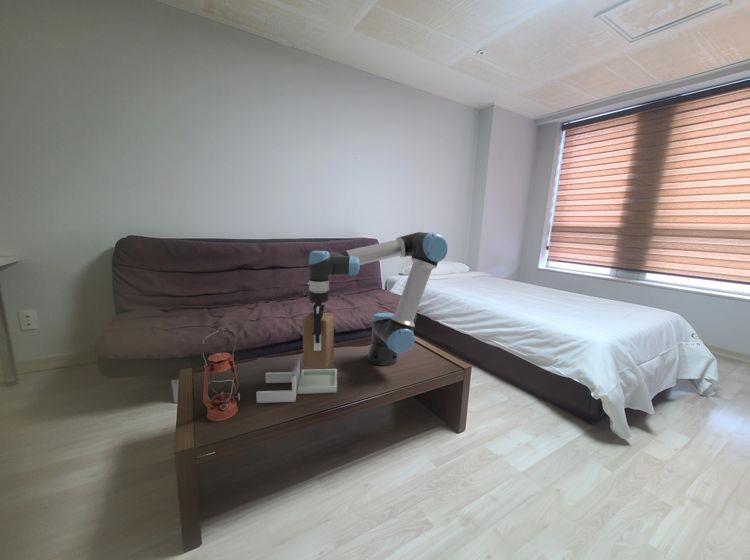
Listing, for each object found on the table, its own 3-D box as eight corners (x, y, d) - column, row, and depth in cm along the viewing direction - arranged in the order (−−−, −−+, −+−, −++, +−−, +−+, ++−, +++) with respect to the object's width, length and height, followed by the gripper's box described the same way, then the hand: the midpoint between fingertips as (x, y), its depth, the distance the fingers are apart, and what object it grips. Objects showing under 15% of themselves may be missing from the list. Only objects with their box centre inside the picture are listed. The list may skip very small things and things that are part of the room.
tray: (336, 374, 133) (337, 368, 132) (336, 392, 118) (336, 387, 117) (302, 374, 131) (301, 369, 130) (297, 394, 116) (297, 388, 116)
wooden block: (326, 370, 117) (326, 320, 113) (302, 367, 119) (301, 318, 115) (334, 359, 126) (334, 313, 123) (311, 356, 128) (311, 311, 125)
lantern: (214, 403, 108) (209, 323, 103) (244, 403, 109) (240, 323, 104) (201, 421, 99) (195, 333, 93) (234, 420, 99) (229, 333, 94)
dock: (300, 380, 126) (299, 356, 124) (295, 401, 111) (294, 374, 109) (266, 381, 124) (265, 357, 122) (256, 402, 109) (255, 375, 107)
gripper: (311, 284, 128) (311, 333, 132) (305, 298, 105) (305, 356, 109) (329, 284, 129) (328, 333, 133) (327, 298, 106) (326, 356, 110)
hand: (318, 344), depth 121 cm, fingers closed on wooden block, 11 cm apart
